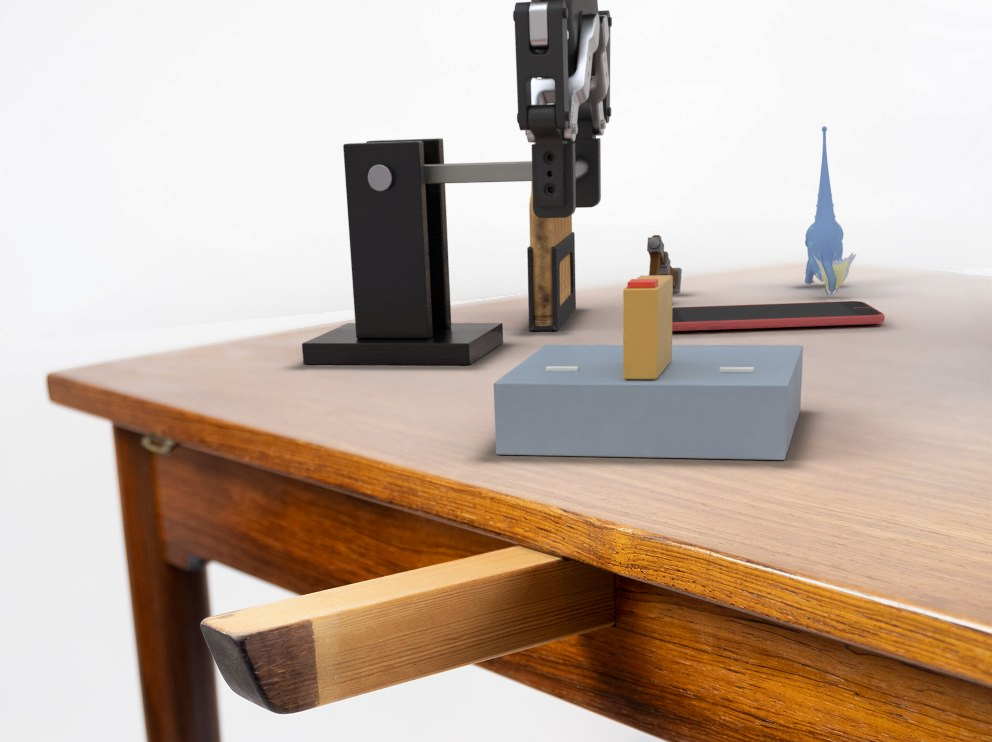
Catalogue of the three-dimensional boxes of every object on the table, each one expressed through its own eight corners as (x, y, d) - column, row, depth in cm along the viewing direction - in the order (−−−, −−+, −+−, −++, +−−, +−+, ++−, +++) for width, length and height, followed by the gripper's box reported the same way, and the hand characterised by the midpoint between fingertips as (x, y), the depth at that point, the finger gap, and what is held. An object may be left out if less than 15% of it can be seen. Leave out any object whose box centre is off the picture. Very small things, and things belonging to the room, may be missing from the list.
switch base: (800, 411, 70) (803, 341, 68) (784, 460, 61) (788, 381, 60) (545, 408, 73) (544, 341, 71) (495, 454, 64) (493, 379, 62)
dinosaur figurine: (801, 338, 113) (813, 281, 103) (800, 152, 115) (812, 80, 106) (840, 337, 112) (856, 280, 103) (838, 151, 115) (854, 78, 105)
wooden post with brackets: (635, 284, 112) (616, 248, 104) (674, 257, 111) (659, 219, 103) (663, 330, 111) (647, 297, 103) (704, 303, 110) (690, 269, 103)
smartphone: (888, 315, 92) (658, 323, 92) (888, 324, 92) (658, 332, 92) (863, 300, 98) (647, 307, 99) (862, 309, 99) (647, 316, 99)
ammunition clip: (549, 308, 106) (545, 124, 101) (576, 308, 105) (573, 123, 101) (528, 331, 96) (523, 129, 91) (557, 330, 96) (553, 127, 91)
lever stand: (503, 342, 92) (496, 135, 88) (469, 365, 85) (460, 140, 80) (348, 342, 95) (334, 141, 90) (303, 364, 87) (285, 146, 83)
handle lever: (589, 189, 86) (589, 144, 85) (572, 195, 82) (571, 148, 81) (387, 194, 89) (384, 151, 88) (359, 200, 85) (356, 155, 84)
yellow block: (640, 360, 66) (640, 269, 64) (672, 360, 66) (673, 269, 64) (623, 379, 62) (622, 282, 60) (657, 379, 61) (657, 282, 60)
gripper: (611, -150, 71) (612, 222, 77) (656, -116, 83) (654, 201, 90) (457, -138, 73) (470, 224, 79) (524, -106, 85) (531, 203, 92)
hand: (568, 211), depth 84 cm, fingers open, 7 cm apart
